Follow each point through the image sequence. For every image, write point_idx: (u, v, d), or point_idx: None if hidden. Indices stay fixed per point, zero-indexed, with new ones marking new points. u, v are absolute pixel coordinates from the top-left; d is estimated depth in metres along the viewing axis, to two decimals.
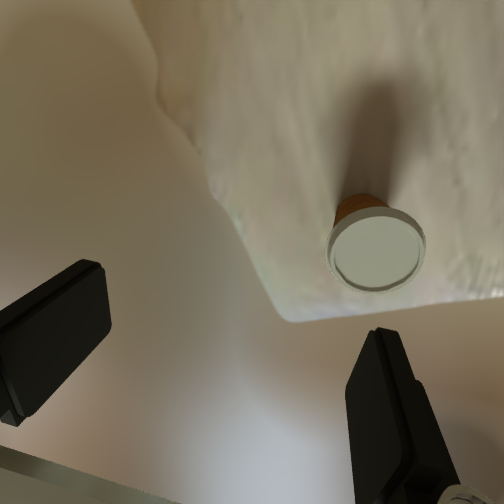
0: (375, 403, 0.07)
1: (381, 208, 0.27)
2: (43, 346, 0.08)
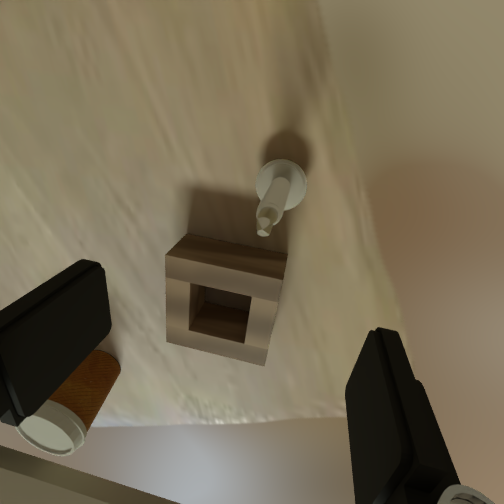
0: (375, 403, 0.07)
1: None
2: (43, 346, 0.08)
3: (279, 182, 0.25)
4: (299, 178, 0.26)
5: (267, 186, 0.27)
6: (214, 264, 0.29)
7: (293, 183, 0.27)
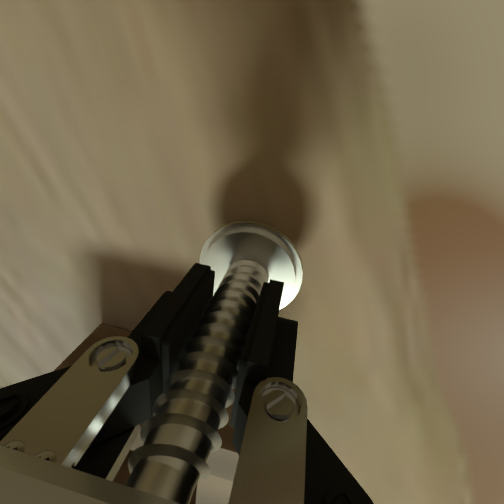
0: None
1: None
2: (184, 343, 0.09)
3: (237, 282, 0.11)
4: (287, 263, 0.12)
5: (221, 273, 0.13)
6: None
7: (274, 271, 0.13)
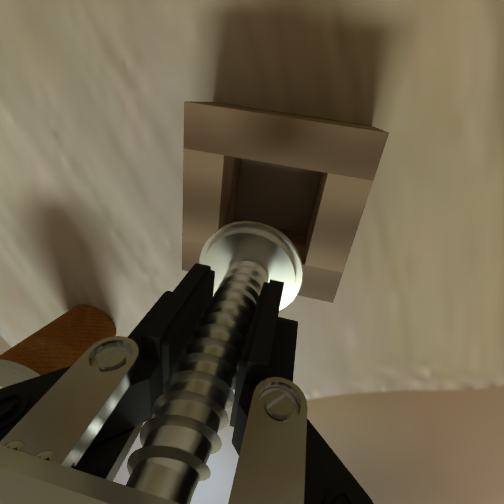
0: None
1: None
2: (184, 343, 0.09)
3: (237, 283, 0.11)
4: (286, 263, 0.12)
5: (221, 274, 0.13)
6: (267, 114, 0.17)
7: (274, 272, 0.13)
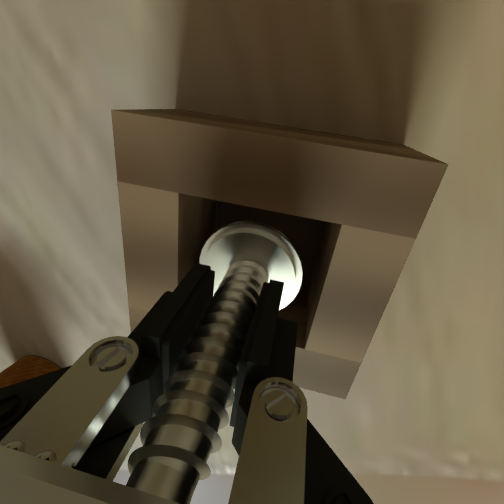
0: None
1: None
2: (184, 343, 0.09)
3: (237, 283, 0.11)
4: (286, 263, 0.12)
5: (221, 273, 0.13)
6: (243, 130, 0.10)
7: (274, 271, 0.13)
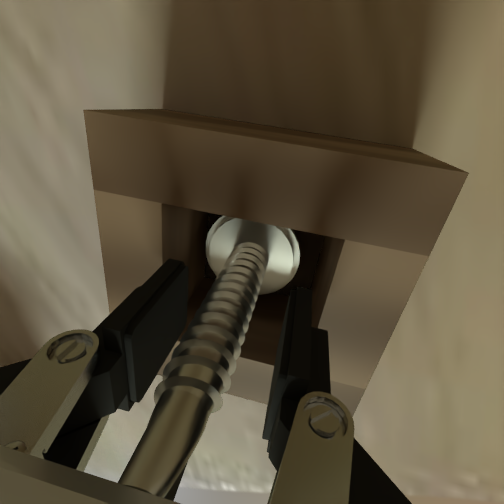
0: (281, 344, 0.09)
1: None
2: (152, 338, 0.09)
3: (241, 260, 0.12)
4: (285, 245, 0.14)
5: (226, 255, 0.15)
6: (233, 133, 0.09)
7: (274, 253, 0.14)
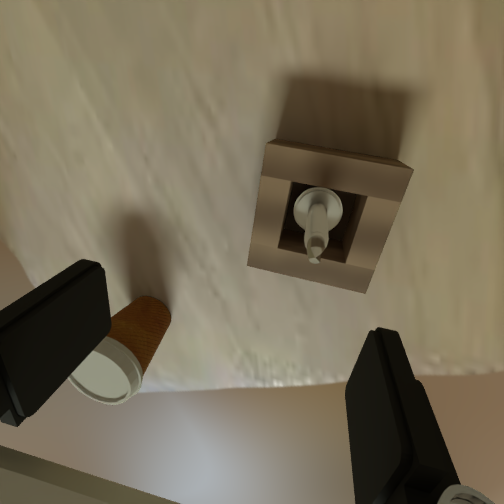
0: (375, 403, 0.07)
1: None
2: (43, 346, 0.08)
3: (318, 209, 0.27)
4: (336, 205, 0.28)
5: (305, 211, 0.29)
6: (326, 153, 0.24)
7: (330, 209, 0.29)
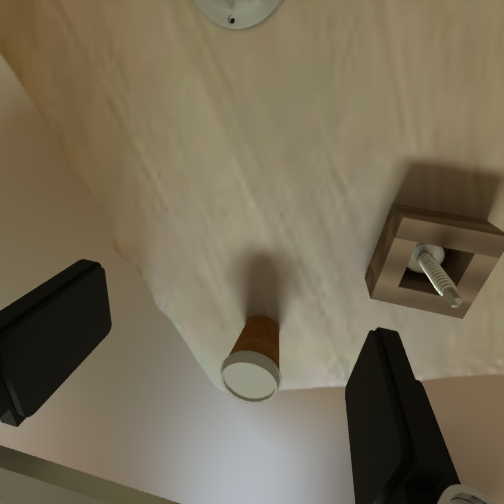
0: (375, 403, 0.07)
1: (249, 354, 0.42)
2: (43, 346, 0.08)
3: (432, 259, 0.37)
4: (440, 254, 0.38)
5: (415, 257, 0.39)
6: (447, 225, 0.34)
7: (435, 256, 0.39)
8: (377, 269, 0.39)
